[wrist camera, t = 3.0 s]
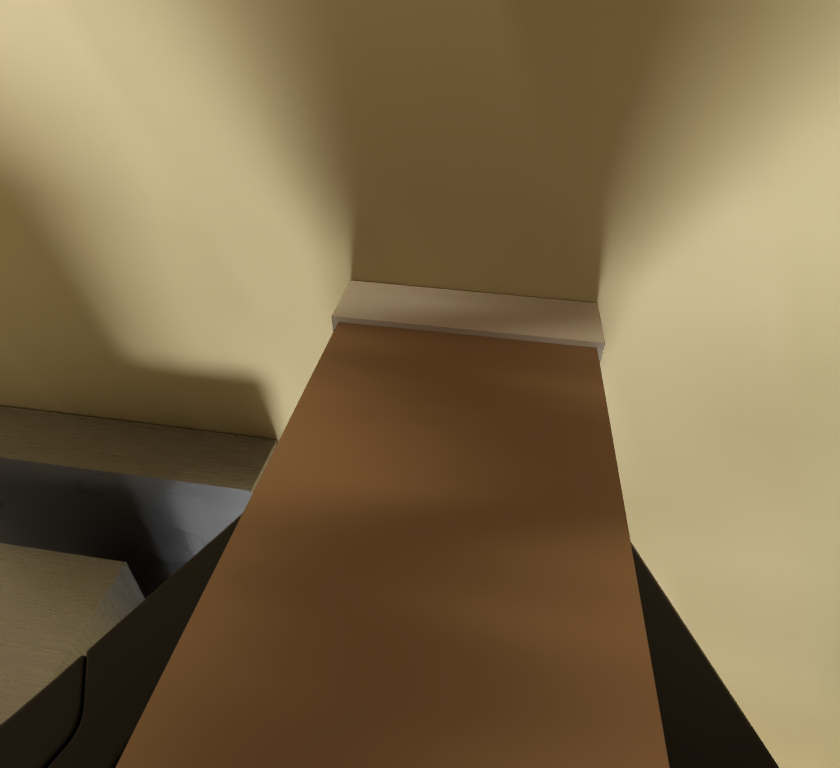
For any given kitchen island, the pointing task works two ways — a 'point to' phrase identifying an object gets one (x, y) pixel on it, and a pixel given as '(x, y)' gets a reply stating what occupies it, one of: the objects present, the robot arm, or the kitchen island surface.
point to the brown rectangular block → (425, 560)
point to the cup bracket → (101, 527)
